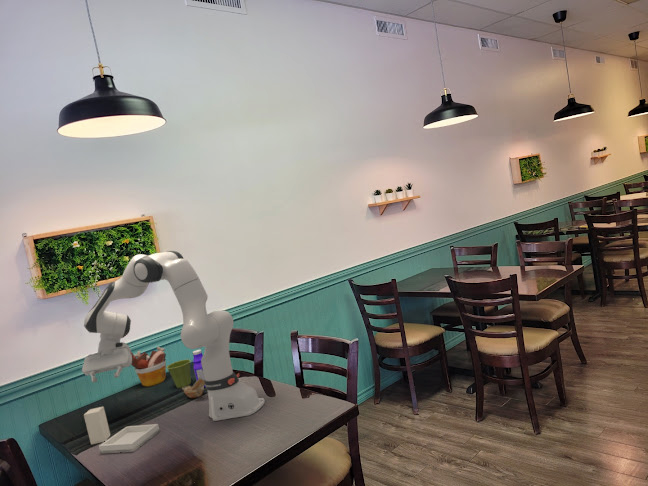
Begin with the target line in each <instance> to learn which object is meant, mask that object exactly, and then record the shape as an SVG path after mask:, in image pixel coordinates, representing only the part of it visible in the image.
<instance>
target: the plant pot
mask: <svg viewBox="0 0 648 486" xmlns="http://www.w3.org/2000/svg"><path fill="white" fill-rule="evenodd" d="M191 361H192V360H191V359H181V360H178V361H174V362H173V363H170V364H169V365H167V366H166V370H167V371H168V372H169V373H170V375H171V378H172V381H173V382H174V385H175V387H176V388H177V389H182V388H183V387H185V386H191V383H192V377H191Z"/></svg>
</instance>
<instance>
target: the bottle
mask: <svg viewBox="0 0 648 486" xmlns="http://www.w3.org/2000/svg"><path fill="white" fill-rule="evenodd" d="M192 355H193V360H192V362H193V372H194V375H195V378H196V382H197V381H198V379H199V378H201V379H203V380H205V377H204V373H203V368H202V364H201V359H202V357H203V355H204V354H203V352H202V349H195V350H194V351H192ZM204 387H205V385H204ZM205 388H206V387H205Z"/></svg>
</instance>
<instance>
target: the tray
mask: <svg viewBox="0 0 648 486" xmlns="http://www.w3.org/2000/svg"><path fill="white" fill-rule="evenodd" d="M160 432H161V431H160V427H159V424H158V423H154V424H151V423H150V424H140V425H130V426H125V427H124V428H123V429H120V431H118V432H116V433H115V434H114V435H112V436H110V437H109V438H108V439H107V440H106V441H105V442H101V444H99V445H98V448H99V453H100V455H102V454H103V455H104V454H118V453H119V454H121V453H120V452H122V453H135V451H136V450H138V449H140V448H141V447H142V446H143V445H145V442H146V443H147V442H149V441H150V440H151V439H152V438H153V437H155V436H157V435H158V433H160ZM149 439H150V440H149ZM140 446H141V447H140Z"/></svg>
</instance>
